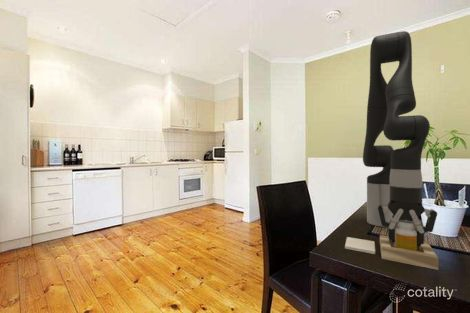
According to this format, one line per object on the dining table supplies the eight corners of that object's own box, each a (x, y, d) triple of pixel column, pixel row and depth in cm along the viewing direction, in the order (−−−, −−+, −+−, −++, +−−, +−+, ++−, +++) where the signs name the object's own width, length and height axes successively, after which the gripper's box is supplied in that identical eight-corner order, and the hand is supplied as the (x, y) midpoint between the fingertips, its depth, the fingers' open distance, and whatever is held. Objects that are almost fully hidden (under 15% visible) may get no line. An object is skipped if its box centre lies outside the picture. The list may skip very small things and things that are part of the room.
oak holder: (379, 244, 73) (379, 235, 73) (427, 252, 67) (427, 242, 67) (381, 258, 63) (381, 248, 63) (438, 269, 57) (438, 258, 57)
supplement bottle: (421, 260, 62) (421, 224, 62) (399, 258, 63) (399, 223, 63) (410, 251, 67) (410, 219, 67) (390, 250, 68) (390, 218, 68)
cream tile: (347, 239, 77) (347, 236, 77) (374, 243, 73) (374, 241, 73) (344, 248, 70) (344, 246, 70) (375, 254, 66) (375, 251, 66)
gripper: (434, 185, 64) (434, 243, 64) (375, 182, 72) (375, 234, 72) (442, 188, 58) (442, 253, 58) (376, 184, 65) (376, 242, 65)
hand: (405, 242), depth 65 cm, fingers closed on supplement bottle, 5 cm apart
